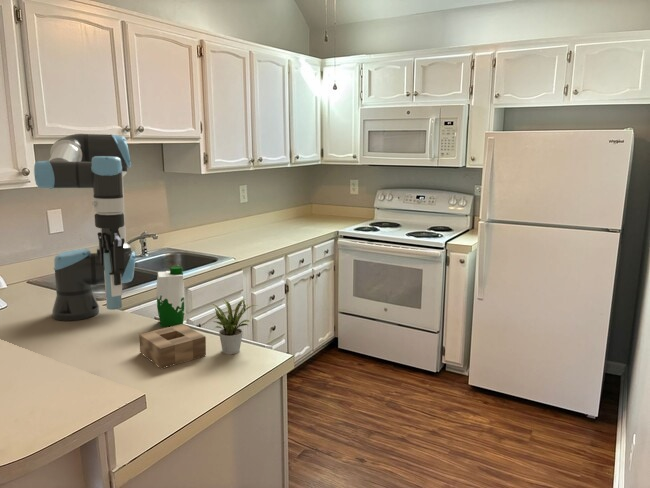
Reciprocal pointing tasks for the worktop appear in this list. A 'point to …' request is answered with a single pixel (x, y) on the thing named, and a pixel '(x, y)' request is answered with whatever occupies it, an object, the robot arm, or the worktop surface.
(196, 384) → the worktop surface
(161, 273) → the milk carton
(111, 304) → the peg
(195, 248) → the worktop surface
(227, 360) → the worktop surface
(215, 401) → the worktop surface
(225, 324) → the house plant
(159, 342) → the socket block
